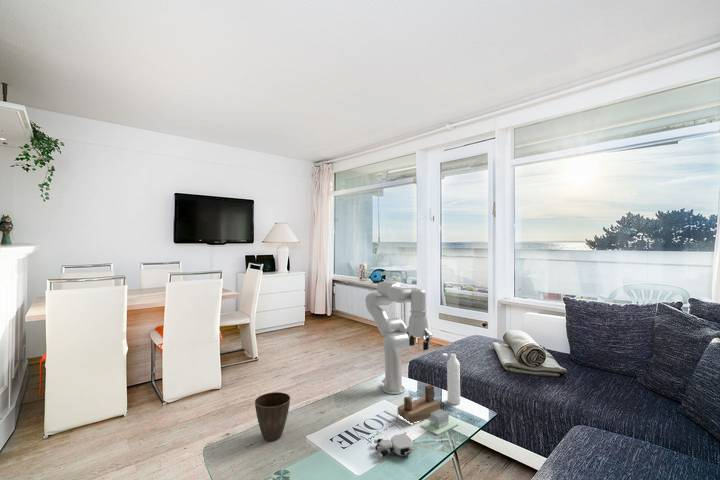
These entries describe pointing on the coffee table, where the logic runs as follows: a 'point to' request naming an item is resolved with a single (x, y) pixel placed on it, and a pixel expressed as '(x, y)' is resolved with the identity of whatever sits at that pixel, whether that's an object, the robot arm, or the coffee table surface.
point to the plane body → (419, 406)
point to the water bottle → (453, 379)
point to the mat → (441, 430)
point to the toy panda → (394, 445)
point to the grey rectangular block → (439, 419)
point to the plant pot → (272, 414)
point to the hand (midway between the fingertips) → (418, 347)
